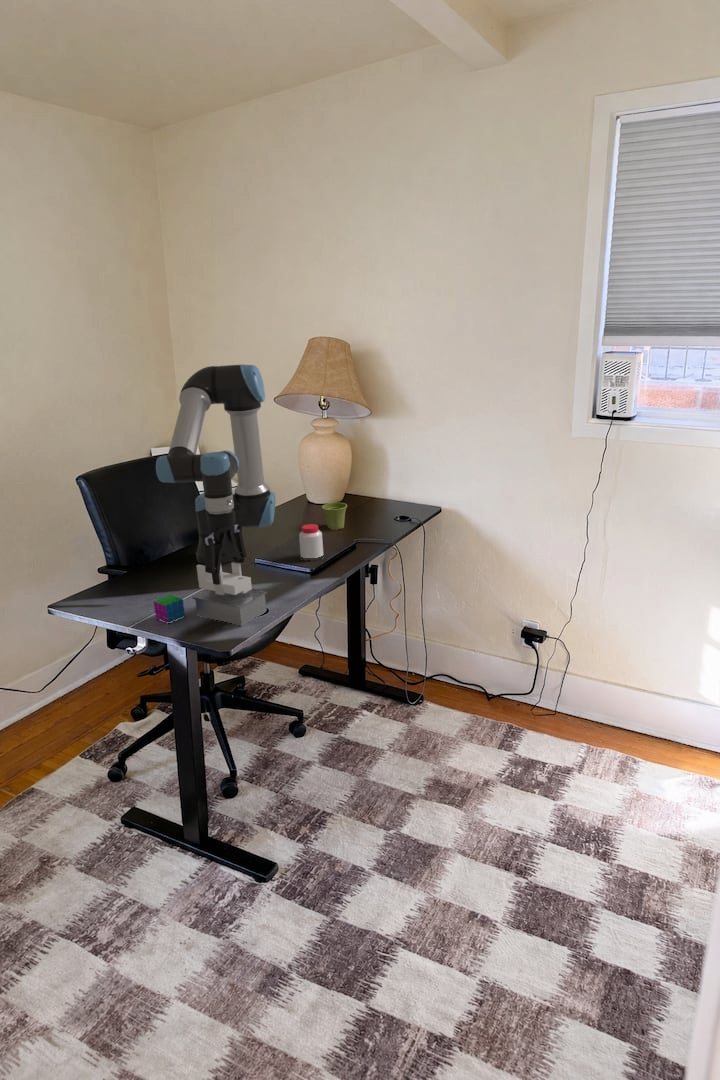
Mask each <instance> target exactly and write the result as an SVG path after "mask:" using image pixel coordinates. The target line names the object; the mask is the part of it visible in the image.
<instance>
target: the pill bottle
mask: <svg viewBox="0 0 720 1080" xmlns="http://www.w3.org/2000/svg"><path fill="white" fill-rule="evenodd" d="M298 539H299V552H300V558H301V557H303V558H318V557H321V556H323V555H324V544H323V543H324V542H323V532H322V531H321V530H320V529H319V525H317V524H316V523H308V524H304V525H302V526H301V532H299V534H298Z"/></svg>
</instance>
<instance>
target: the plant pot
mask: <svg viewBox="0 0 720 1080" xmlns="http://www.w3.org/2000/svg"><path fill="white" fill-rule="evenodd" d="M321 508H322V509H323V512H324V516H325V520H326V524H327V525H326V526H327V528H328V529H329V530H331V531H338V530H341V529H344V527H345V520H346V519H345V518H346V517H345V516H346V510H347V508H348V504H346V503H344V502H329V503H326V504H323V505H322V506H321Z"/></svg>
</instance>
